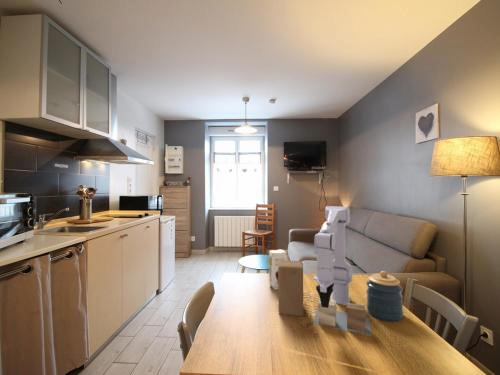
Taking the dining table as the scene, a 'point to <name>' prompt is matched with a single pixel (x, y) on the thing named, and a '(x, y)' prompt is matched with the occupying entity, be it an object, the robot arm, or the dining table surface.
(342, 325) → the felt mat
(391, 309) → the canister
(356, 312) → the walnut block
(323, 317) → the ash block
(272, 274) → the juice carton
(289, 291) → the wooden block
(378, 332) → the dining table surface
